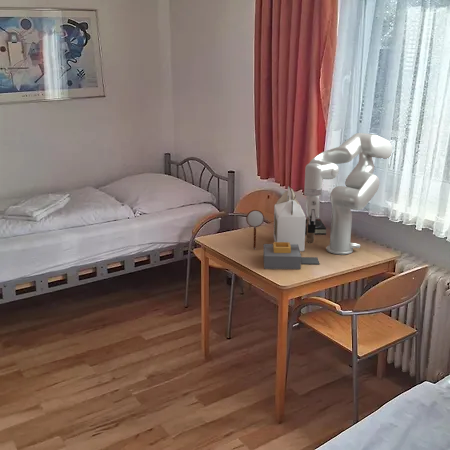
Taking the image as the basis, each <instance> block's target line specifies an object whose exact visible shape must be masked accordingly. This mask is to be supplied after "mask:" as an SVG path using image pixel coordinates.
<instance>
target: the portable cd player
mask: <svg viewBox="0 0 450 450" xmlns="http://www.w3.org/2000/svg"><path fill="white" fill-rule="evenodd" d="M306 234H307V218H306V224H305V236H306ZM315 235H316V236H317V235H319V236H321V235H322V236H323V235H325V236H326V235H327V226H326V225H325V224H324V223H323V222H322V219H321V218H315V233H314V236H315Z"/></svg>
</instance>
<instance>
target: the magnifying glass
mask: <svg viewBox="0 0 450 450" xmlns="http://www.w3.org/2000/svg"><path fill="white" fill-rule="evenodd" d="M245 220H246V223H247V225H248V226H249V227H251V228H253V244H252V245H253V246H252V247H253V250H256V248H257V228H258V227H260V226H262V225H263V223H264V221H265V217H264V213H263V211H260V210H259V209H253V210H250V211H249V212H248V213H247V215H246V218H245Z"/></svg>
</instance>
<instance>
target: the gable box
mask: <svg viewBox="0 0 450 450" xmlns="http://www.w3.org/2000/svg"><path fill="white" fill-rule="evenodd" d="M273 206H274V210H273V212H274V213H273V240H274V241H273V242H290V244H298V246H299V250H300V252H305V242H306V235H305V224H306V219H307V215H306V213H305V211H304V210H303V208H302V206H301V204H300V203H299V201H298V200H297V198H296V193H295V191H294V189H293V188H291V187H290V186H289V185H288V187H287V190H285V191H284V192H283V193H282V195H280V197H279V199H277V201H276V203H275V204H274V205H273Z"/></svg>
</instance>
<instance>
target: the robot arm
mask: <svg viewBox="0 0 450 450" xmlns="http://www.w3.org/2000/svg"><path fill="white" fill-rule="evenodd" d="M390 142H391V141H390V140H388V139H386V138H384V137H383V136H382V137H381V136H379V135H377V134H372V133H365V132H357V133H354V134H353V135H351V136H350V137H349V138H348V139H346V141H344V142H343V143H342V144H340V145H339V146H337V147H333V148H330V149H328V150H324V151H321V152H320V153H318V154H317V155H316V156H314V157H313V158H312V159H311V160H310V162H309V163H307V164H306V165H305V168H304V169H305V172H304V187H303V188H304V191H303V196H306V201H305V203H306V204H305V215H306V218H307V217H308V218H309V224H308V233H315V219H320V197H321V196H322V192H323V190H322V189H323V188H322V187H323V180H333V179H335V178H336V177H337V176H338V175H339V172H340V169H339V166H338V164H339V165H341V164H346V163H350V162H351V161H353V159H355V158H356V157H357V156H358V162H357V164H356V165H355V167H354V168H353V169H352V170H351V172H350V173H349V174H348V175H347V176H346V177H345V178H346V179H345V181H344V184H345V186H344V185H339V186H337V185H336V186H335V187H334V188H332V190H331V192H330V203H331V218H330V220H331V221H330V234H329V235H330V237H329V238H330V239H329V244H328V245H327V246H326V251H327V252H328V253H330V254H334V255H341V256H342V255H349V254H352V253H353V252H354V248H355V249H360V248H361V244H360V243H357V242H352V241H351V236H352V235H351V234H352V222H353V214H352V211H351V210H353V211H361V210H363V209H364V208H366V206H367V205H368V204H369V202H370V201H371V200H372V199H373V197H374V196H375V194H376V193H377V192H378V191H379V187H380V178H379V177H378V176H377V175H376V174H374V171H375V163H374V161H373V158H376V159H381V158H383V159H382V160H387V158H388V159H389V157H390V156H391V153H392V145H391V143H392V142H391V143H390ZM391 157H392V156H391ZM391 157H390V158H391ZM310 216H312V217H310ZM310 219H311V220H310Z"/></svg>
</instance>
